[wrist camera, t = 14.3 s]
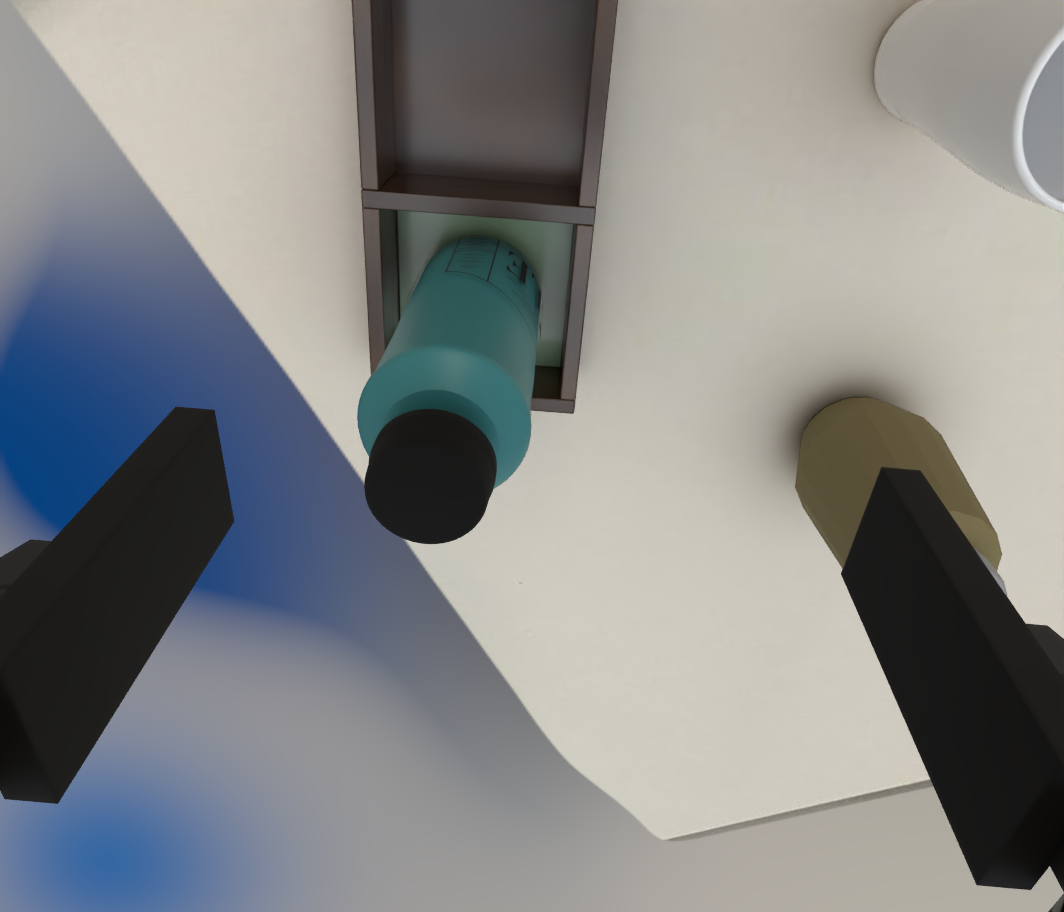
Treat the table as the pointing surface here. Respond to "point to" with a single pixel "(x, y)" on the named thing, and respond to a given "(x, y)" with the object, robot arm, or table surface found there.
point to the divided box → (484, 152)
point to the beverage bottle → (452, 392)
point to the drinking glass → (983, 87)
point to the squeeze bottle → (856, 459)
